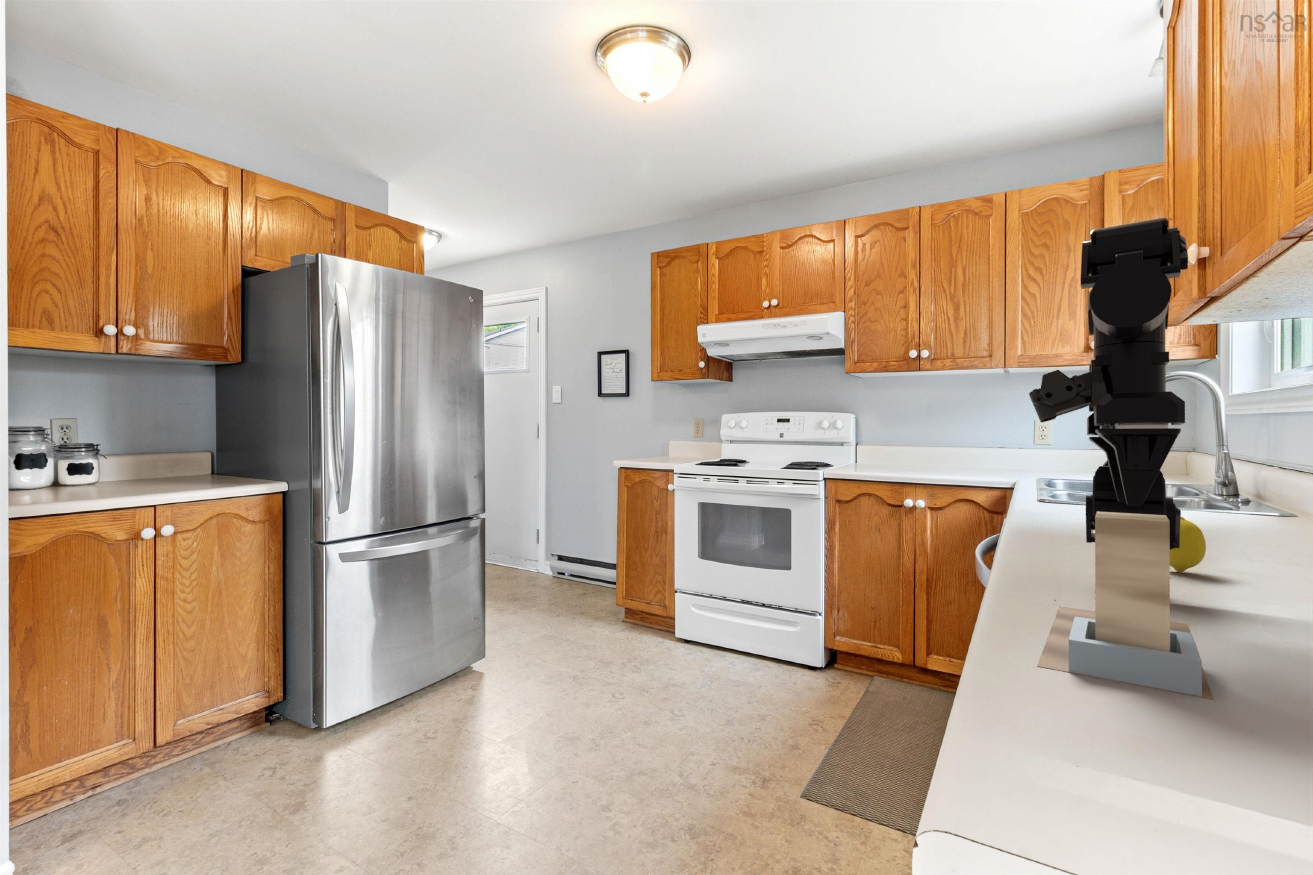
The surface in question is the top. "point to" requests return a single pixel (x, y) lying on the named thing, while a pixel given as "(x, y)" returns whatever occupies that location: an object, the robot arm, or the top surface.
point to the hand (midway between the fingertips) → (1129, 503)
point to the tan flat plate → (1058, 645)
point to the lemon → (1188, 547)
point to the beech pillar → (1132, 580)
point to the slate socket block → (1136, 660)
